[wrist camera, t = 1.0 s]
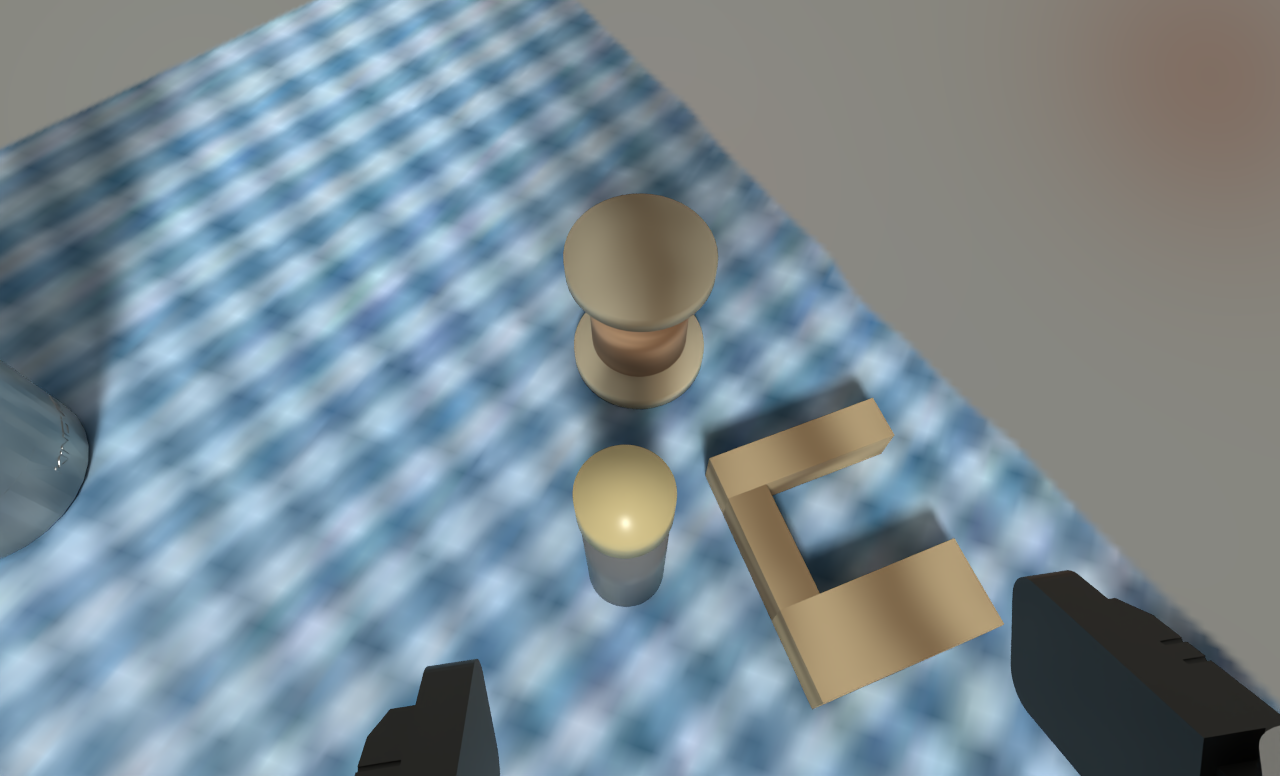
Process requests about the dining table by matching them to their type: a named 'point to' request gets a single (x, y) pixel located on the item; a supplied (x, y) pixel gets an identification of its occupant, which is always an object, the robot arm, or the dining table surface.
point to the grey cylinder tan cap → (625, 521)
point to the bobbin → (639, 297)
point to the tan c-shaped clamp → (862, 608)
